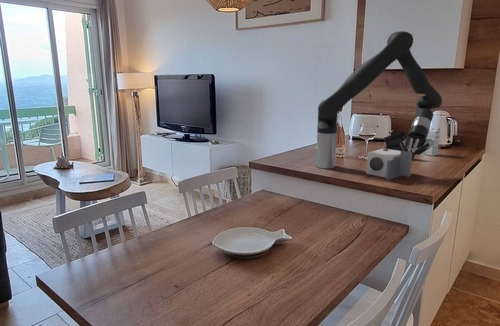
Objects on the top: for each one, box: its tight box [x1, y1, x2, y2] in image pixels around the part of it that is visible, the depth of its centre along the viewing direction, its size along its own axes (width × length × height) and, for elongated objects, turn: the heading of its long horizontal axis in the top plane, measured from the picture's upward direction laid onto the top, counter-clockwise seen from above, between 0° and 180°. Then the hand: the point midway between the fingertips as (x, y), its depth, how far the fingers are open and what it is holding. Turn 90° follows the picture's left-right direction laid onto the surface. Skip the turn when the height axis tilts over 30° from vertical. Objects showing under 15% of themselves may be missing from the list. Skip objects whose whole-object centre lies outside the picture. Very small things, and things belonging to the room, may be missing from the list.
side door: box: [385, 151, 413, 180], centre depth 146 cm, size 6×10×11 cm, turn 130°
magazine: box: [383, 130, 408, 151], centre depth 191 cm, size 4×13×15 cm, turn 35°
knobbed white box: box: [365, 147, 401, 180], centre depth 158 cm, size 12×15×11 cm
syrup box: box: [422, 128, 441, 157], centre depth 198 cm, size 6×6×14 cm
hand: (408, 160), depth 149 cm, fingers closed
